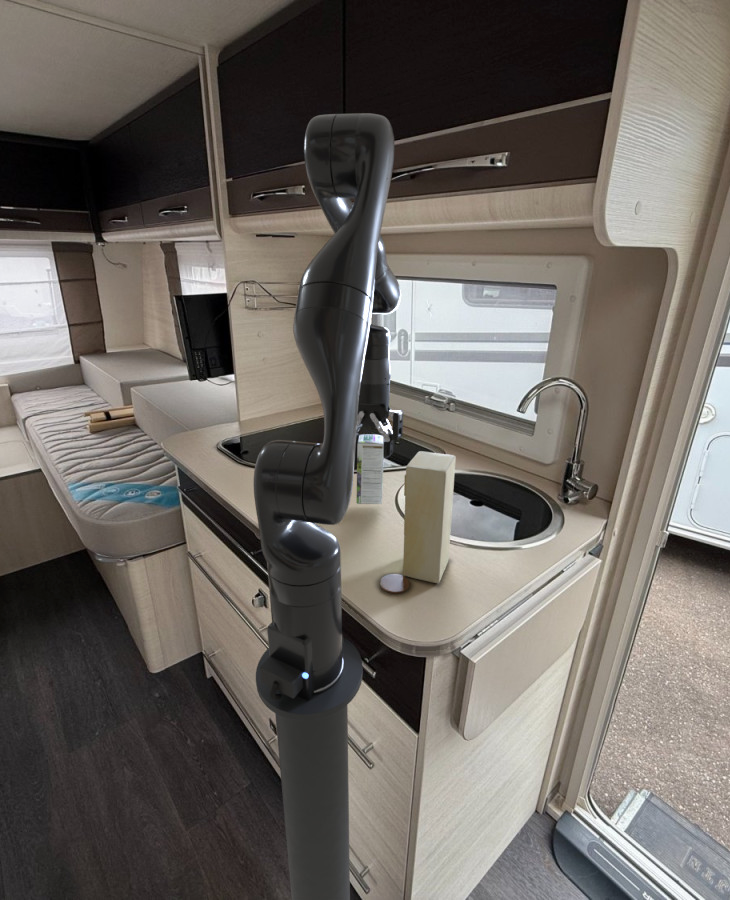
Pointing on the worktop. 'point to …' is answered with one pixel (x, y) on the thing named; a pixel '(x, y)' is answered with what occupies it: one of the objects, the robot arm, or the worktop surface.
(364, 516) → the worktop surface
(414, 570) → the tall cream pillar
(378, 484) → the syrup box
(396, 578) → the brown glossy disc
